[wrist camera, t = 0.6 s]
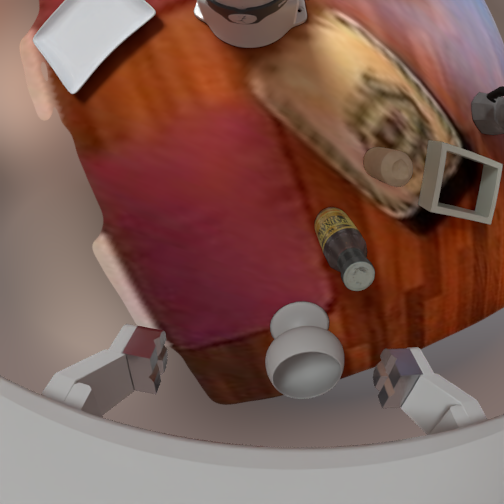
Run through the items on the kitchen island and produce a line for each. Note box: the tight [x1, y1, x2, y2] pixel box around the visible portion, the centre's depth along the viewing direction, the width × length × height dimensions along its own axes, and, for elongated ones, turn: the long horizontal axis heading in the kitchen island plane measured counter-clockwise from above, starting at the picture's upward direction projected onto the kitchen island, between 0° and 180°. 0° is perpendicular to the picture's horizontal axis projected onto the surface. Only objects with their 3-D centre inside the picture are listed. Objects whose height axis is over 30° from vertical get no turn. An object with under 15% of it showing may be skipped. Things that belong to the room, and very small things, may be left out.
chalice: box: [265, 302, 344, 399], centre depth 53 cm, size 14×14×15 cm
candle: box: [363, 147, 413, 187], centre depth 43 cm, size 6×6×10 cm
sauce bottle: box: [315, 207, 375, 291], centre depth 43 cm, size 6×6×20 cm
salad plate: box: [33, 0, 156, 94], centre depth 37 cm, size 21×21×3 cm
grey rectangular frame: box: [418, 140, 503, 225], centre depth 45 cm, size 12×16×5 cm
